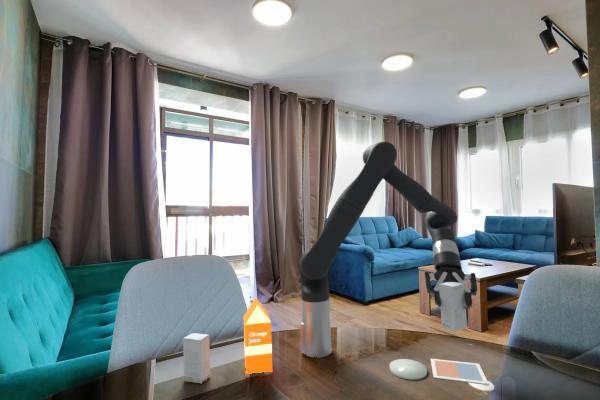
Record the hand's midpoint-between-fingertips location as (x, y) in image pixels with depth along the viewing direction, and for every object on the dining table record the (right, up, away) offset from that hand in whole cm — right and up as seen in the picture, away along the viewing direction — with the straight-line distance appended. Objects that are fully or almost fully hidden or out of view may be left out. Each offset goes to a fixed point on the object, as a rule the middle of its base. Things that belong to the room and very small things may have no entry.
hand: (453, 306), depth 86 cm
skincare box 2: (+1, -6, +1) cm, 7 cm away
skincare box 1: (-72, -21, +1) cm, 75 cm away
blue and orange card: (+1, -18, +1) cm, 18 cm away
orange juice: (-55, -21, +6) cm, 59 cm away
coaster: (-12, -19, +2) cm, 22 cm away
